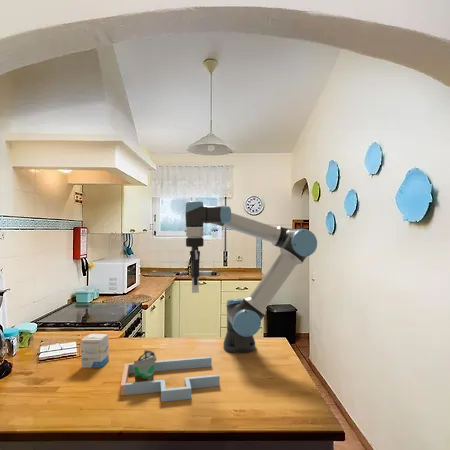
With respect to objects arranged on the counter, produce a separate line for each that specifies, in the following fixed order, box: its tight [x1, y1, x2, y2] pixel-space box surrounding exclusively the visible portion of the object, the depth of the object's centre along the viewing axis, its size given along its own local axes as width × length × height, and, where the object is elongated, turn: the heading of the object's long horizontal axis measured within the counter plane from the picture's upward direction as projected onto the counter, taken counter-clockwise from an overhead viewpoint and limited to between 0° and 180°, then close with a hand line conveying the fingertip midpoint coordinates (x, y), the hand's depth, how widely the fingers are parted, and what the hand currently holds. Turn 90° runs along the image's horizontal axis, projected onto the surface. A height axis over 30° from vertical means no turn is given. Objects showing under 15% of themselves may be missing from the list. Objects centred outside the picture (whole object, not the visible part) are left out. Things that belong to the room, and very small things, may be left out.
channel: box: [120, 356, 221, 403], centre depth 133 cm, size 34×28×4 cm
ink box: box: [80, 333, 110, 369], centre depth 153 cm, size 9×8×12 cm
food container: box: [133, 349, 157, 382], centre depth 134 cm, size 12×6×10 cm, turn 174°
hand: (195, 292), depth 155 cm, fingers closed
